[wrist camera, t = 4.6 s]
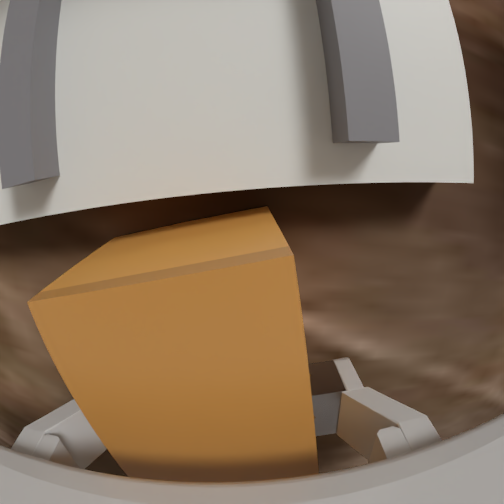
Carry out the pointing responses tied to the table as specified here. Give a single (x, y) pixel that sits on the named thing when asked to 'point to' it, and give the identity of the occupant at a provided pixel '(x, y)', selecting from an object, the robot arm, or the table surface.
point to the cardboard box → (188, 350)
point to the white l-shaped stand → (224, 98)
